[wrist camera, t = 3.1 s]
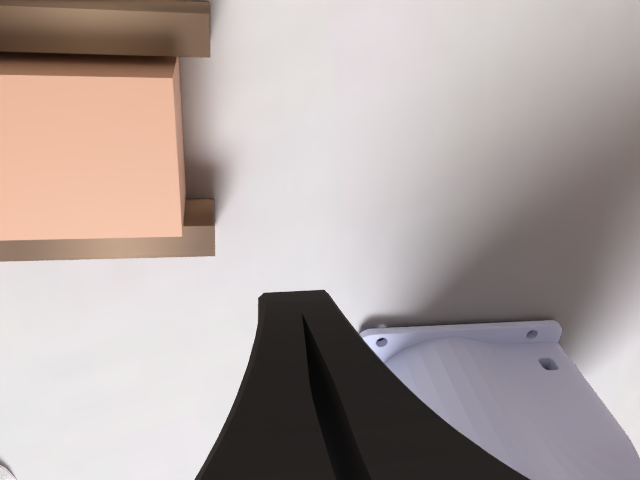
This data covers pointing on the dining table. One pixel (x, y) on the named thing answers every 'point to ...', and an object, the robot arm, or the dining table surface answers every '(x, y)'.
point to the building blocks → (112, 39)
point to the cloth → (5, 474)
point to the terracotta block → (90, 146)
